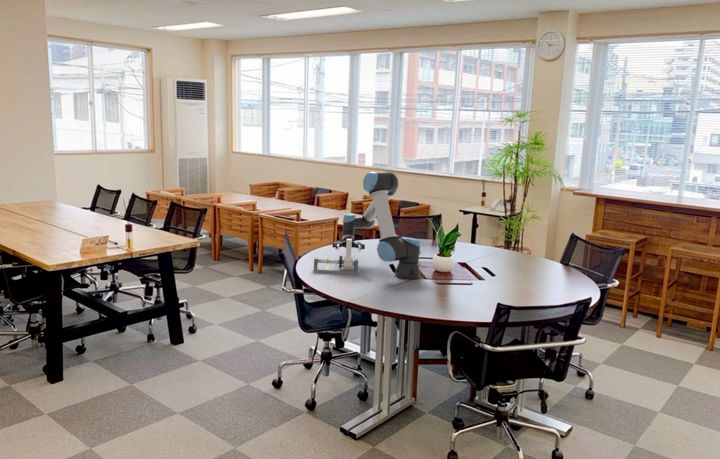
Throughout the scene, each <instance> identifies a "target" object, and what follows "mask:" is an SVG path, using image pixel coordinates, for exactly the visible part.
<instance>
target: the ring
mask: <svg viewBox="0 0 720 459" xmlns="http://www.w3.org/2000/svg"><path fill="white" fill-rule="evenodd" d="M338 260H339V264H338V267H339V268H342V267H343V264H342V260H343V255H339V259H338Z"/></svg>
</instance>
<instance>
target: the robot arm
mask: <svg viewBox="0 0 720 459" xmlns="http://www.w3.org/2000/svg"><path fill="white" fill-rule="evenodd" d="M362 187H363V190H365V192H367V193H368V196H369V197H370V198H371V199H372V201H371V203H369V205H368V207H367V208H366V210H364V213H363V214H362V215H360V216H356V214H354V213H345V214H343V217H342V218H343V220H342V235H341V240H342V241H340V240H337V241H334V242H332V248H333V249H334V248H335V249H336V251H339V249H340V248H345V249H346V242H347V239H352V247H351V249H352V248H355V249H358V252H359V253H360V252H361V251H362V250H365V248H366V244H364V243H361V242H360V241H357V242H355V230H357V229H369V228H373V227H374V226H375V223H376V221H375V219H376V220H377V224H378V229H379V230H378V231H379V233H380V234H379V235H380V238H379V241H378V244H377V247H376V252H377V255H378V257H379V258H380V260H382V261H384V262H391V263H392V262H395V261H396V262H397V261H398V264H397V266H396V269H395V272H394V276H395V277H397V278H399V279H402V280H403V279H404V280H418V279H420V278H421V270H420V266H419V261H420V260H419V259H420V255H419V253H420V252H421V250H420V249H421V241H420V240H419V239H418V238H414V237H407V236H401V237H400V236H399V235H398V234H396V230H395V225H394V221H393V216H392V213H391V212H392V211H391V207H390V204H389V199H390V197H393V196H394V195H395V193H396V192H397V191H398V188H399V179H398V176H397V175H396V174H395V173H394V172H392V171H369V172H367V173H366V174H365V175H364V178H363V179H362ZM419 251H420V252H419Z"/></svg>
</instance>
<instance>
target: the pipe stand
mask: <svg viewBox="0 0 720 459" xmlns="http://www.w3.org/2000/svg"><path fill="white" fill-rule="evenodd" d="M319 264H327V265H328V264H330V265H331V264H332V265H333V264H335V265H339V259H332V258H331V259H330V258H327V259H325V258H319V257H314V259H313V271H312V272H313V274H315V273H317V274H332V275H333V274H335V275H336V274H337V275H351V274H352V275H353V276H355V275H356V276H358V275H359V274H358V272H359V271H358V269H359V259H354V260H352V266H353V265H354V266H353V267H352V269H348V268H343V266H342V268H339V266H324V265H322V266H321V265H319ZM343 264H344V259H342V265H343Z"/></svg>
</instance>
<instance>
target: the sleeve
mask: <svg viewBox="0 0 720 459" xmlns="http://www.w3.org/2000/svg"><path fill="white" fill-rule="evenodd" d="M351 247H352V239H347V242H346V248H345V255H344V256H343V260H344V264H342V267H343V268H348V269H352V268H353V265H352V261H353V256H352V248H351Z"/></svg>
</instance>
